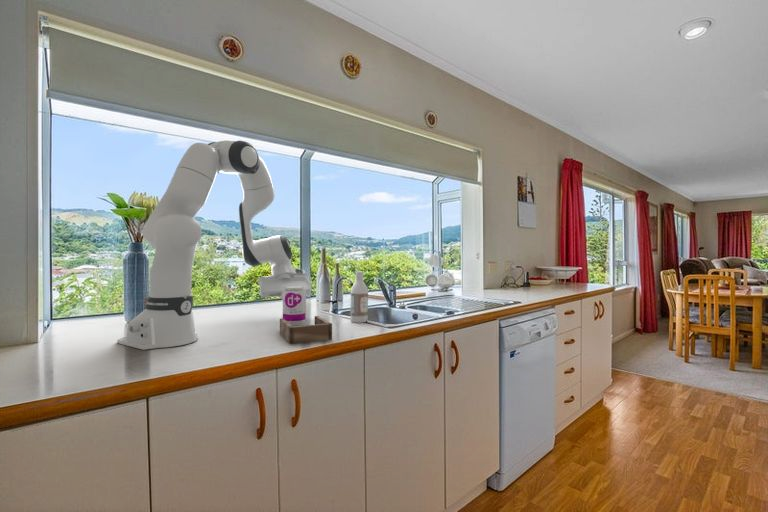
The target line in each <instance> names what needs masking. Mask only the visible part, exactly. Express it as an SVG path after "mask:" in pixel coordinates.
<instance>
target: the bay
mask: <svg viewBox="0 0 768 512" xmlns="http://www.w3.org/2000/svg"><path fill="white" fill-rule="evenodd" d="M279 334H280V336H282V338H283V339H284V340H286V341H287V343H288V344H289V343H290V344H289V345H294V344H303V343H312V342H313V343H314V342H321V341H330V340H332V339H333V323H331V322H329V320H326V319H324V318H322V317H321V316H319V315H315V316H314V324H308V325H307V324H306V326H295V327H293V326H292V325H291V324H289V323H288V322H287V321H286V320H285V319H283V318H279Z"/></svg>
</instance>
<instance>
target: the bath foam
mask: <svg viewBox="0 0 768 512" xmlns="http://www.w3.org/2000/svg"><path fill="white" fill-rule="evenodd" d="M349 303H350V307H349V308H350V309H349V310H350V311H349V312H350V322H351V323H356V324H357V323H359V324H360V323H366V321H367V322H368V320H369V319H368V317H369V316H368V315H369V313H368V312H369V308H368V307H369V290H368V286H367V285H366V283H365V281H364V271H361V270H359V271H358V270H357V271H355V281H354V283H353V285H352V286H351V289H350V302H349Z"/></svg>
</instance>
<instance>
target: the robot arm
mask: <svg viewBox="0 0 768 512" xmlns="http://www.w3.org/2000/svg"><path fill="white" fill-rule="evenodd" d="M176 166H177V167H176V168H175V171H174V173H173V176H172V178H171V180H170V182H169V184H168V186H167V188H166V189H165V192H164V194H163V195H162V196H161V198H160V200H159V201H158V203H157V205H156V206H155V208H154V209H153V211H152V213H151V214H150V216H149V218H148V220H147V221H146V222H145V224H144V226H143V228H142V231H141V232H142V238H143V240H144V241H145V242H146V243H147V244H148V245H149V246H151V247H152V248H154V249H155V250H154V256H153V259H152V265H151V267H150V269H149V296H148V298H142V301H143V302H142V303H143V304H144V303H145V306H144V309H143V310H142V311H141V312H140V313H139V314H138V315H136V316H135V317H133V319H131V320H130V321H128V324H127V328H126V335H125V336H123V337H120V338H119V339H117V341H116V343H117V344H121V345H123V346H127V347H131V348H136V349H139V350H152V349H160V348H161V349H163V348H171V347H178V346H184V345H189V344H191V343H194V342H197V340H198V337H197V336H198V332H197V331H196V325H195V318H194V312H193V306H194V295H193V294H192V276H193V275H192V273H193V272H192V270H193V264H194V259H195V254H196V250H197V246H198V244H199V242H200V240H201V238H202V234H203V231H202V226H201V224H200V223H199V222H198V220H196V219H195V218H196V216H197V215H198V213H199V212H200V211H201V210H202V209H203V208H204V206H205V205H206V203H207V200H208V197H209V194H210V192H211V190H212V187H213V185H214V183H215V181H216V177H217V175H218V174H228V175H237V177H238V179H239V181H240V186H241V189H242V192H243V198H242V201H241V202H240V203H239V204H238V220H239V228H240V235H241V241H242V244H241V245H242V249H241V250H242V258H243V260H244V263H245V264H247V265H249V266H251V267H254V268H255V267H258V266H261V265H264V264H266V263H269V266H270V267H271V272H270V273H271V275H268V276H261V277H259V278H258V279H257V285H258V286H259V296H260V297H261V298H274V297H275V298H276V297H277V298H278V297H280V299H281V301H283V290H284V288H285V286H304V288H305V290H306V296H309V295H310V294H311V292H312V290H313V289H312V288H313V287H312V283H311V280H310V279H309V277H308V276H306V274H307V273H306V270H304V269H300V268H296V267H293V265H292V256H293V252H292V248H291V247H292V246H291V243H290V241H289V239H288V238H287V237H285V235H281V234H279V235H274V236H270V237H266V238H262V239H258V240H254V239H253V230H252V220H253V219H254V217H256V216H257V215H258V214H259V213H262V212H263V211H265V210H266V209H267V208H268V207H270V206H271V204H272V203H273V202H274V199H275V190H274V189H275V188H274V185H273V182H272V177H271V174H270V172H269V170H268V167H267V165H266V163H265V161H264V159H263V158H261V157H260V155H259V152H258V150H257V149H256V147H255V146H254V145H253V144H252V143H250V142H248V141H245V140H220V141H213V142H210V143H204V142H195V143H193V144H191V145H190V146H189V147H188V148H187V150H186V151H185V152H184V154H183V155H182V157H181V159H180V161H179V163H178V165H176Z"/></svg>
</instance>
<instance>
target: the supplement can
mask: <svg viewBox="0 0 768 512" xmlns="http://www.w3.org/2000/svg"><path fill="white" fill-rule="evenodd" d="M306 310H307V295H306V290H305V288H304V286H285V288H284V290H283V300H282V319H285V320H286V321H287V322H288V323H289V324H291V325H292V326H293V327H295V326H306V325H307V323H306V322H307V316H306V315H307V313H306V312H307V311H306Z"/></svg>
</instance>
